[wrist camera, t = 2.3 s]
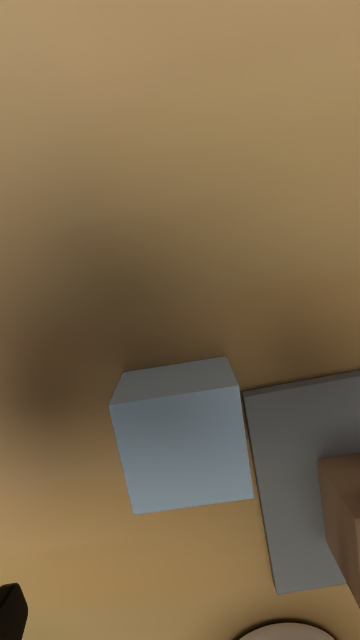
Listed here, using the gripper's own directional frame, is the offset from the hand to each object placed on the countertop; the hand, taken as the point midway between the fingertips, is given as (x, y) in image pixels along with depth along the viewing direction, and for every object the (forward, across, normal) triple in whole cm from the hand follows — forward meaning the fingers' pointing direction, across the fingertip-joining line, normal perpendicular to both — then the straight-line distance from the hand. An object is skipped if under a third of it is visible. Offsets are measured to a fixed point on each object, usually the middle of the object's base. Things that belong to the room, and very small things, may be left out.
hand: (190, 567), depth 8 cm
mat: (+8, -8, +5) cm, 13 cm away
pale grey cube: (+8, 0, 0) cm, 8 cm away
